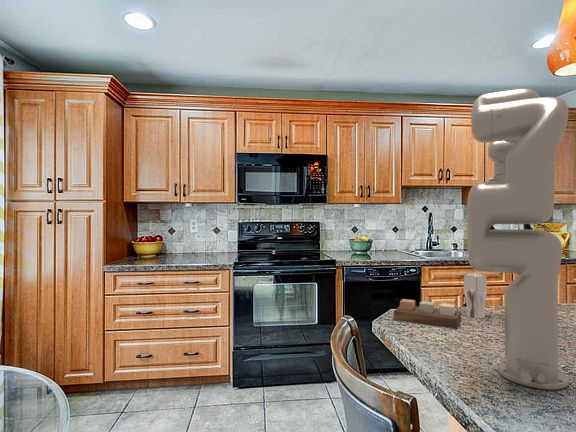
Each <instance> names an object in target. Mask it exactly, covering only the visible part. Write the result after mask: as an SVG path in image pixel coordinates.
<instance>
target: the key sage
mask: <svg viewBox="0 0 576 432" xmlns="http://www.w3.org/2000/svg"><path fill="white" fill-rule="evenodd" d="M418 307H419V312H424V313H432V314H433V313H434V312H435V309H436V308H435V307H436V306H435V301H425V300H421V301H420V302H419V305H418Z"/></svg>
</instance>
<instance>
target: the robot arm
mask: <svg viewBox="0 0 576 432" xmlns="http://www.w3.org/2000/svg"><path fill="white" fill-rule="evenodd" d="M470 119H471V120H470V124H471V134H472V136H473V139H475V141H476V142H478V143H483V144H484V143H489V145H488V147H487V154H488V155H487V156H488V157H489V159H490V160H491V161H492V162H493V176H492V177H489V179H488V181H481V182H477V183H475V184H473V186H471V187H470V190H469V192H468V195H467V196H468V197H467V203H466V204H467V206H466V211H467V212H466V213H467V214H466V217H467V219H466V221H467V222H466V224H467V225H466V227H467V231H466V233H467V237H466V238H467V242H466V243H467V244H466V245H467V246H466V247H467V259H468V263H469V265H470V267H471V268H472V269H473V270H475V271H479V272H485V273H486V272H487V273H505V274H516V277H515V278H514V279H513V280H512V281H511V282H510V283H509V284H508V285H507V287H506V289H505V291H504V296H503V297H504V303H503V304H504V346H505V347H504V349H505V350H504V351H505V352H504V354H505V355H504V357H505V358H504V359H505V360H502V361H500V362H499V363H498V364H497V372H498V373H499V374H500V376H502V377H504V378H505V379H506V380H509V381H511V382H514V383H515V384H519V385H522V386H526V387H531V388H535V389H542V390H551V391H552V390H560V389H565V388H567V387H568V386H569V383H570V379H569V377H568V375H567V374H566V373H565V372H564V371H561V370H560V364H559V363H560V362H559V361H560V356H559V315H558V314H559V312H558V311H559V309H558V307H559V303H558V302H559V301H558V300H559V297H558V296H559V295H558V293H559V292H558V290H559V289H558V288H559V275H560V268H561V264H562V263H561V262H562V257H563V245H562V240H561V239H560V238H559V237H558V236H557V235H556V234H555V233H552V232H550V231H546V230H540V229H531V225H532V224H533V225H534V224H541V223H546V222H547V221H549V220H550V219H551V218H552V215H553V212H554V207H555V183H556V182H555V179H556V178H555V176H556V173H555V172H556V169H555V168H556V156H557V155H556V154H557V152H558V150H559V149H558V148H559V147H560V144H561V142H562V140H563V137H564V135H565V132H566V129H567V125H568V119H569V108H568V104H567V102H566V100H564V99H563V98H561V97H557V96H542V97H541V95H540V94H539V93H538V92H537V91H536V90H533V89H532V88H514V89H508V90H503V91H495V92H488V93H483V94H481V95H480V96H478V97H477V98H476V99H475V100H474V102H473V104H472V108H471V112H470ZM494 225H523V229H494Z"/></svg>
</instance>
